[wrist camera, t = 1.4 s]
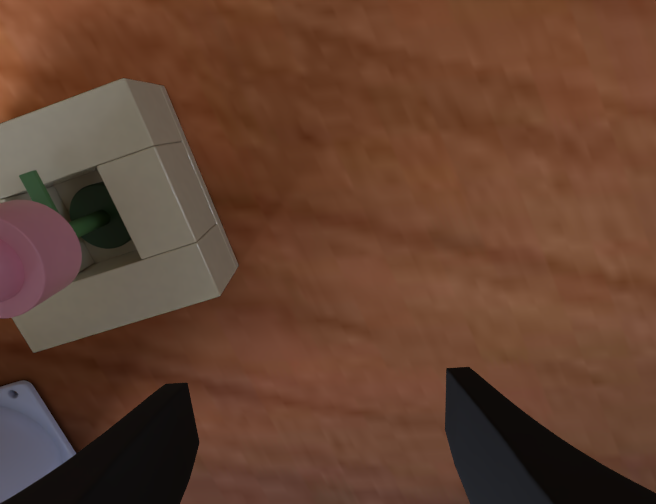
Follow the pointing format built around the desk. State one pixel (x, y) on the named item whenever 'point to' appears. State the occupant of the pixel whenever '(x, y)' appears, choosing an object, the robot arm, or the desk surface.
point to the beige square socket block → (119, 209)
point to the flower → (50, 242)
